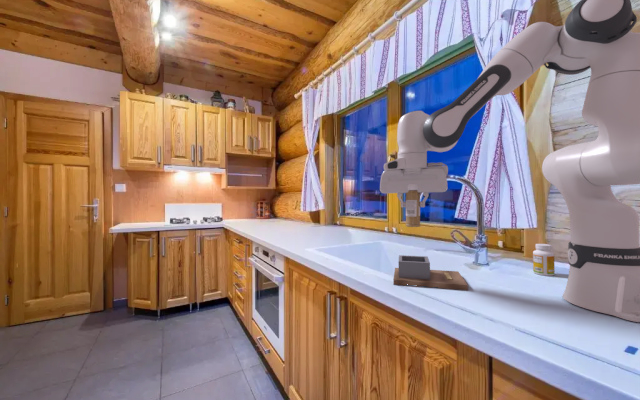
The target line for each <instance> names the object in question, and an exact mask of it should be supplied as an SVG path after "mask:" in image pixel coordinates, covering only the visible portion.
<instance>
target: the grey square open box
mask: <svg viewBox="0 0 640 400" xmlns="http://www.w3.org/2000/svg"><path fill="white" fill-rule="evenodd" d="M398 268H399V278H412V279H427V280H430V270H431V263H430V260H429V257H428V256H426V255H425V256H423V255H422V256H421V255H404V254H403V255H402V254H401V255H398Z"/></svg>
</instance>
